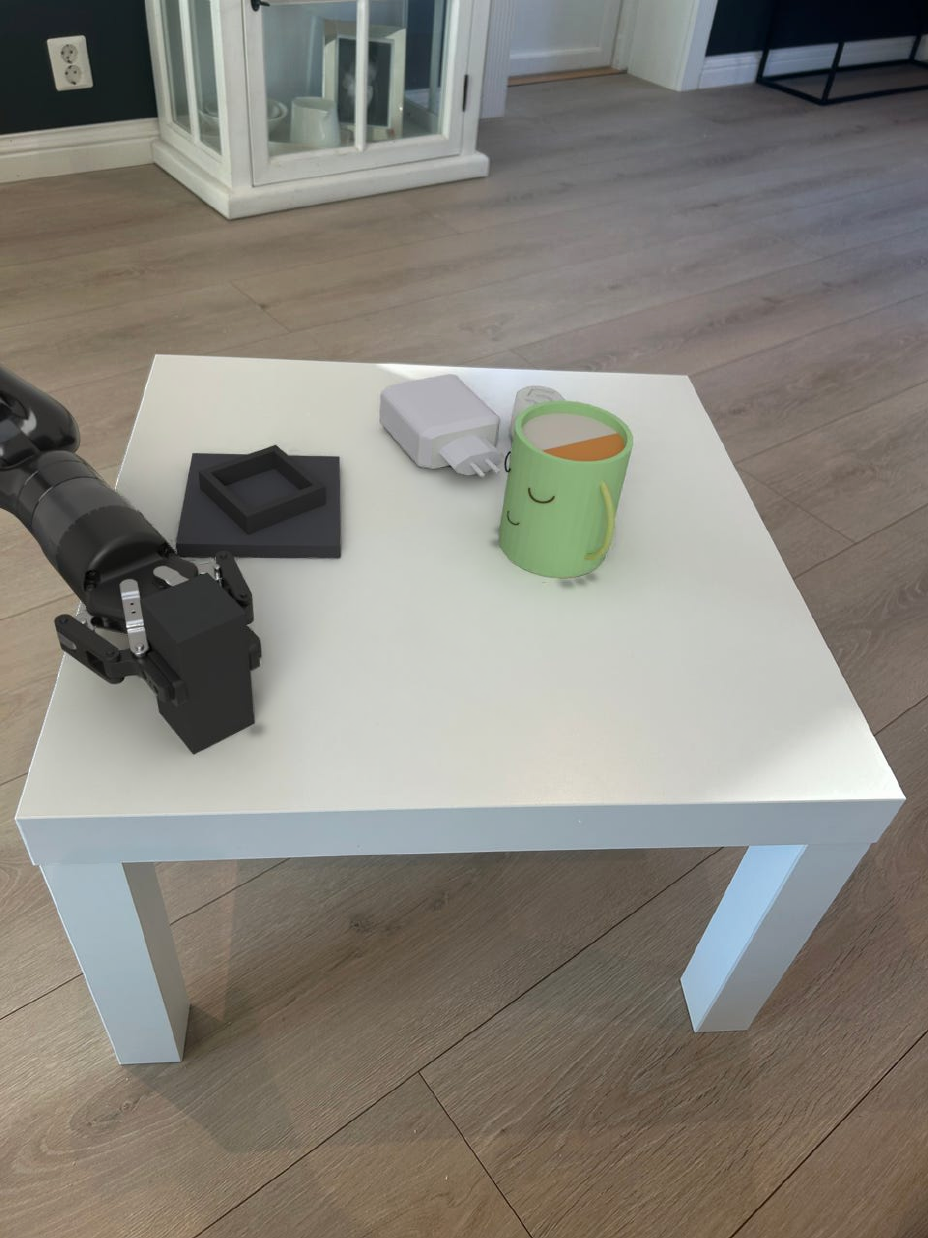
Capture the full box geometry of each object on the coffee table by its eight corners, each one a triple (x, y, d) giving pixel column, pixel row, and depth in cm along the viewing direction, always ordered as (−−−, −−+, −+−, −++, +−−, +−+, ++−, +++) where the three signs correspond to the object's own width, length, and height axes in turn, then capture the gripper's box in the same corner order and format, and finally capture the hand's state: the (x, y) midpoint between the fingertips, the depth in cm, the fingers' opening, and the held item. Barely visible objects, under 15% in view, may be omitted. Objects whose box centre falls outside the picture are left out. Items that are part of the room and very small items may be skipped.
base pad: (177, 557, 83) (172, 524, 81) (193, 465, 93) (190, 434, 91) (340, 558, 85) (340, 526, 83) (339, 468, 95) (339, 438, 93)
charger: (446, 505, 93) (378, 426, 102) (527, 484, 96) (455, 410, 106) (450, 463, 89) (380, 386, 99) (534, 444, 93) (459, 371, 102)
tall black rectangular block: (193, 755, 68) (177, 642, 60) (158, 712, 70) (138, 599, 63) (255, 723, 70) (246, 612, 63) (219, 683, 73) (207, 571, 66)
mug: (475, 525, 91) (489, 413, 83) (567, 501, 95) (589, 392, 87) (546, 608, 83) (569, 493, 75) (643, 578, 87) (675, 466, 79)
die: (559, 430, 105) (567, 389, 101) (553, 455, 101) (561, 413, 97) (514, 422, 105) (520, 381, 102) (506, 446, 101) (512, 404, 98)
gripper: (192, 551, 80) (309, 672, 71) (19, 619, 72) (126, 763, 63) (183, 475, 75) (308, 595, 66) (-4, 540, 67) (108, 684, 58)
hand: (218, 677), depth 65 cm, fingers closed on tall black rectangular block, 5 cm apart
